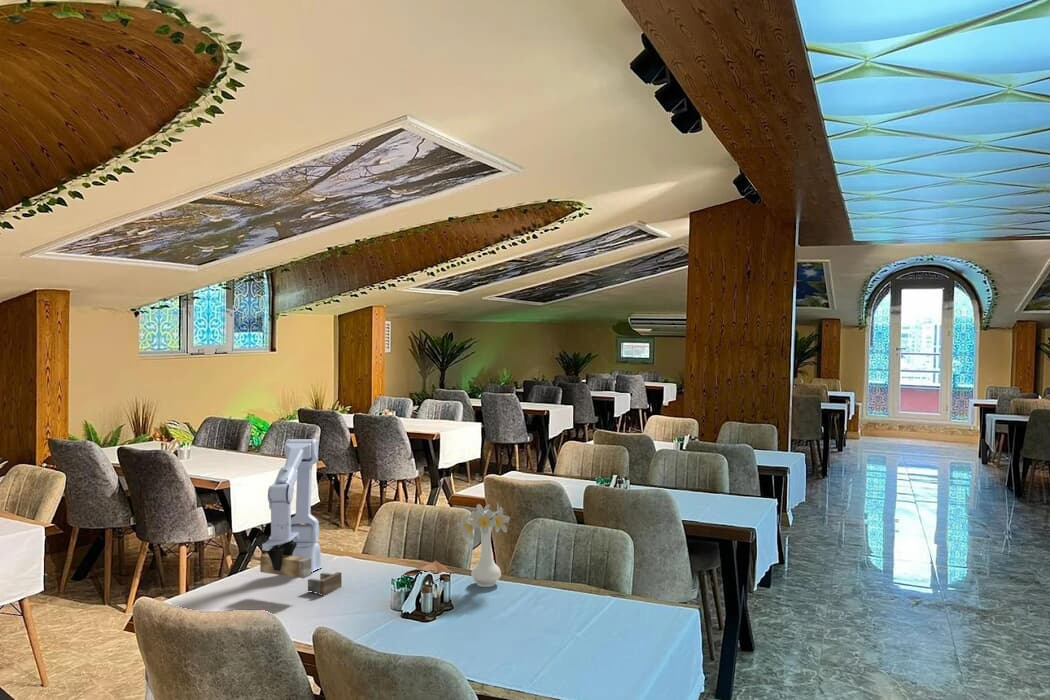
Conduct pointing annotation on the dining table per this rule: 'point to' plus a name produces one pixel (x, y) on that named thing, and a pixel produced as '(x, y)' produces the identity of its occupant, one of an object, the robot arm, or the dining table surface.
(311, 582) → the wooden channel piece
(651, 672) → the dining table surface
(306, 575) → the bed rail
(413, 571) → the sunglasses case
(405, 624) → the dining table surface
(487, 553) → the flower vase
